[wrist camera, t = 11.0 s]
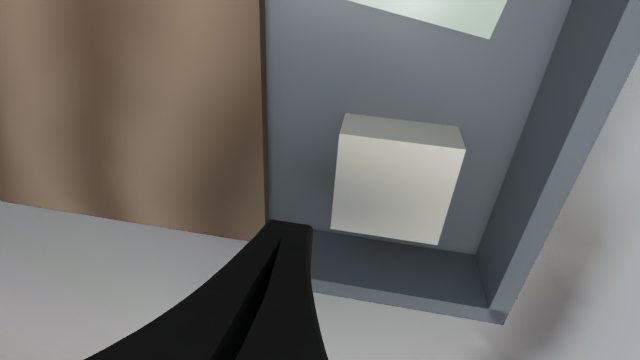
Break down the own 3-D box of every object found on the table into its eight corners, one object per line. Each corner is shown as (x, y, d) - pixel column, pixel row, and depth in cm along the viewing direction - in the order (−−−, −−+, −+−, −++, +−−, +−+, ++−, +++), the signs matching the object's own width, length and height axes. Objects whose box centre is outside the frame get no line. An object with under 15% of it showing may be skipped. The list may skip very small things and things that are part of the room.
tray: (271, 231, 20) (249, 281, 17) (262, -278, 10) (209, -365, 7) (486, 265, 19) (503, 324, 16) (708, -276, 9) (857, -379, 6)
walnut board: (16, 191, 22) (0, 201, 21) (-200, -281, 12) (-244, -297, 11) (271, 231, 20) (265, 243, 19) (262, -278, 10) (251, -298, 9)
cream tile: (336, 202, 18) (330, 228, 16) (345, 112, 16) (339, 133, 14) (433, 216, 17) (437, 245, 16) (458, 126, 15) (466, 149, 13)
